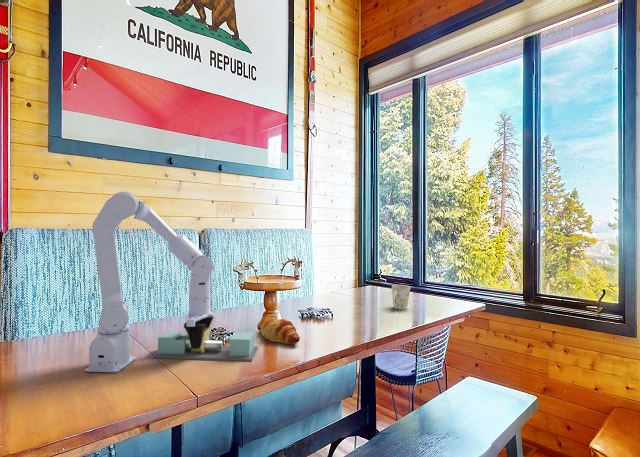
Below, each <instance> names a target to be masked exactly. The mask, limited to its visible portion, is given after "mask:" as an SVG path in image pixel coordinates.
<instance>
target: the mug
mask: <svg viewBox="0 0 640 457" xmlns="http://www.w3.org/2000/svg"><path fill="white" fill-rule="evenodd" d="M410 292H411V286H410V285H407V284H392V285H391V295H392V305H393V308H394V309H395V310H402V311H403V310H408V304H409V298H410Z"/></svg>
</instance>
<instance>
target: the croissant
mask: <svg viewBox="0 0 640 457" xmlns="http://www.w3.org/2000/svg"><path fill="white" fill-rule="evenodd" d="M260 327H261V328H260V331H261V334H262V336H263V339H266V340H268V341H270V342H272V343H273V342H274V343H281V344H283V345H294V344H297V343H299V342H300V339H301V337H300V336H299V333H298V332H297V329H296V327H295V326H294V324H293V322H292V321H290V320H289V319H286V318H279V319H270V320H266V321H264V322H263V323H262V324H261V326H260Z"/></svg>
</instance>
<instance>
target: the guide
mask: <svg viewBox="0 0 640 457" xmlns="http://www.w3.org/2000/svg"><path fill="white" fill-rule="evenodd" d="M182 333H183V332H182V331H174V330H172V331H170V330H167V331H165V332H163V333H162V334H161V335H159V336H158V337H157V352H156V354H154V355H153V359H167V360H169V359H171V360H195V361H196V360H197V361H202V360H203V361H205V360H206V361H225V362H226V361H227V362H228V361H230V362H231V361H232V362H233V361H234V362H235V361H236V362H252V361H253V360H254V357H255V356H256V353H257V351H258V349H259V347H258V346H255V344H254V343H255V342H254V338H255V333H254V332H234V333H233V334H232V336H231V337H230V338H229V345H223V348H222V351H206V352H205V353H201V352H192V350H186V340H189V336H188V334H185V333H184V334H182ZM175 339H182V340H175Z"/></svg>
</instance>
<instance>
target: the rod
mask: <svg viewBox="0 0 640 457" xmlns="http://www.w3.org/2000/svg"><path fill="white" fill-rule="evenodd" d="M210 329H211V328H210V327H206V328H204V330H203V334H202V339H201V345H200V348H199V349H192V348H191V344H190V340H186V350H192V352H201V353H205V352H206V351H222V348H223V346H224V342H223V340H211V339H210V335H211V334H210V333H211V332H210ZM175 340H182V339H175Z"/></svg>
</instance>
